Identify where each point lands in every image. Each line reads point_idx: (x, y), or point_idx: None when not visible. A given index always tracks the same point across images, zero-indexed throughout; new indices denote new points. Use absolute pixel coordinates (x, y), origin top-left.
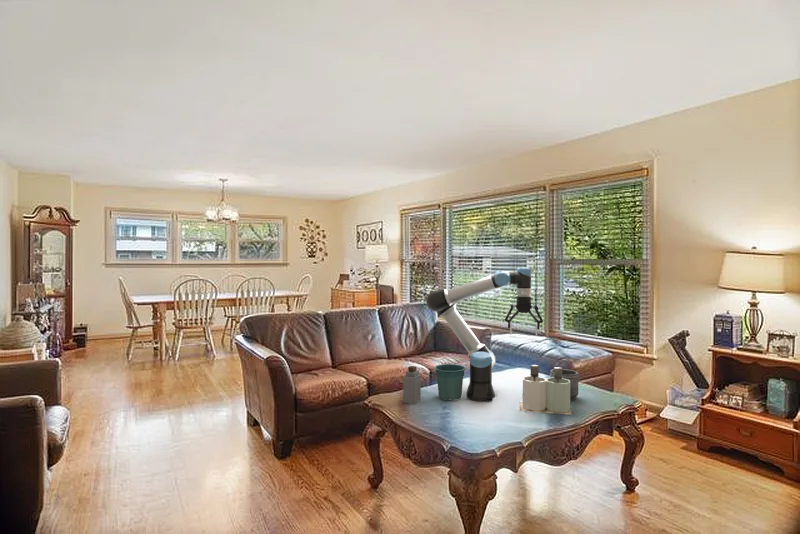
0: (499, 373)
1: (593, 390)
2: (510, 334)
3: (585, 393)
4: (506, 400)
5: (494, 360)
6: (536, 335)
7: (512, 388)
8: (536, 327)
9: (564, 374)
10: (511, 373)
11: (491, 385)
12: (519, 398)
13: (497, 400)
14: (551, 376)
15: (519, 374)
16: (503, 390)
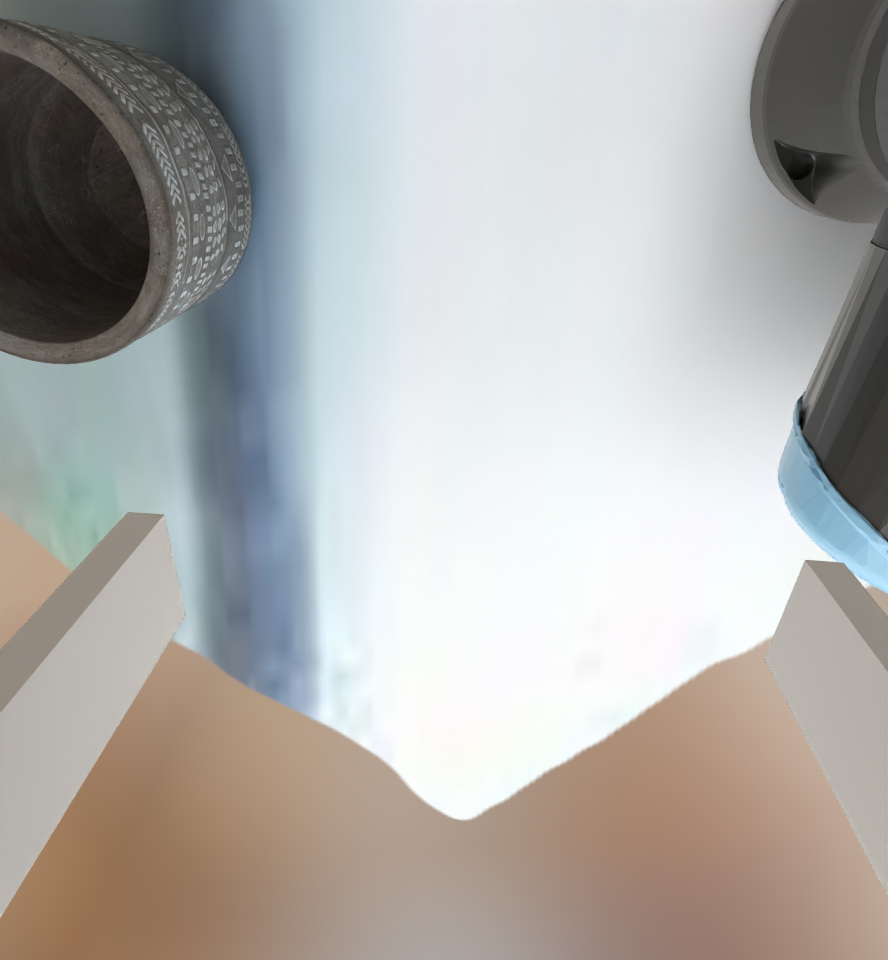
0: (591, 733)
1: (5, 478)
2: (831, 563)
3: (40, 398)
4: (652, 28)
5: (848, 394)
6: (145, 516)
7: (548, 424)
8: (2, 682)
9: (68, 327)
10: (515, 741)
11: (862, 20)
12: (523, 135)
13: (742, 3)
14: (169, 143)
15: (468, 729)
16: (627, 356)
